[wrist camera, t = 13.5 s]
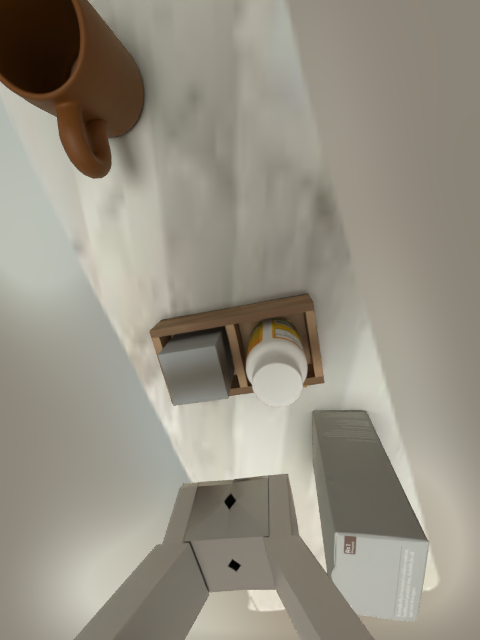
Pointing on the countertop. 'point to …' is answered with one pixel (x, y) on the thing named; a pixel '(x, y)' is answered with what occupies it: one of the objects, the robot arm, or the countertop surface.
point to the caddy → (227, 348)
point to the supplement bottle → (276, 362)
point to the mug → (71, 74)
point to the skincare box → (366, 519)
